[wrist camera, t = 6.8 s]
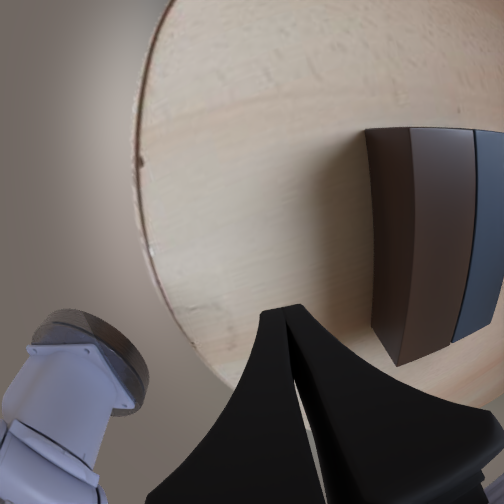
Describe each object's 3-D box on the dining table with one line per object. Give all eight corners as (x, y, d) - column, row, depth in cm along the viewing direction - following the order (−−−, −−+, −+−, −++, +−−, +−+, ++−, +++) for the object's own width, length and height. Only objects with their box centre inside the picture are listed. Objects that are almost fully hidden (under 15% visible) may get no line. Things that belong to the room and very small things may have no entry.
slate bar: (421, 310, 16) (451, 344, 12) (426, 127, 12) (475, 129, 8) (459, 295, 16) (490, 323, 12) (469, 129, 12) (514, 134, 8)
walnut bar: (370, 326, 16) (396, 367, 13) (364, 128, 12) (408, 127, 8) (419, 311, 16) (449, 345, 12) (424, 127, 12) (473, 130, 8)
